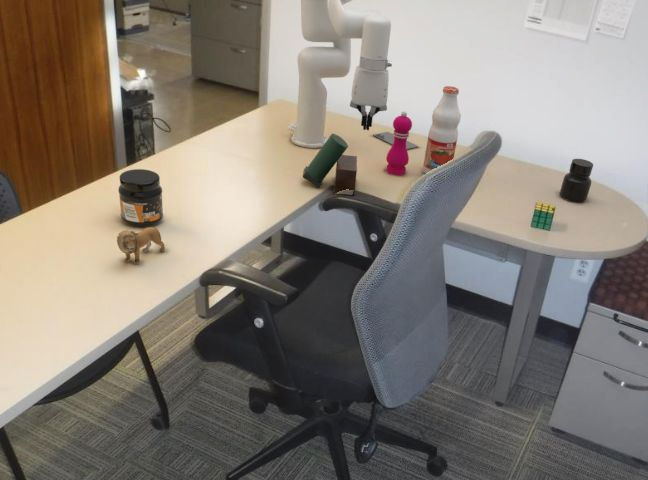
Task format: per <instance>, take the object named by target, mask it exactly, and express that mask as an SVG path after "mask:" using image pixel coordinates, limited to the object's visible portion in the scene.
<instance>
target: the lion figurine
mask: <svg viewBox="0 0 648 480" xmlns="http://www.w3.org/2000/svg"><path fill="white" fill-rule="evenodd" d="M152 242H153V243H154V244H155V245H158V246H160V248H159V252H161V253H164V252H165V250H166V249H165V243H164V241H162V236H161V232H160V230H159V229H158V228H157V227H154V226H150V227H144V228H143V229H142V230H140V231H139V232H135V231H134V230H123V231H121V232H119V233H118V235H117V236H116V244H117V246H118V249H119V250H120V252H122V253H123V254H125V258H124V263H125V262H126V263H128V262H130V261H131V255H132V254H134V262H133V263H134V264H135V265H140V264H141V259H140V250H141V248H143V249H142V252H144V253H146V252H148V251H150V248H151V246H152ZM144 247H145V248H144Z"/></svg>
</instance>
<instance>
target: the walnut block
mask: <svg viewBox="0 0 648 480" xmlns="http://www.w3.org/2000/svg"><path fill="white" fill-rule="evenodd" d="M335 165H336V166H335V174H334V175H335V177H334V187H333V194H334V195H336V194H335V193H337V192H339V191H342V190H346V189H349V190H356V182H357V172H358V156H357V155H348V154H342V155H341V157H340V158H339V159H338V161H337V162H336V163H335Z"/></svg>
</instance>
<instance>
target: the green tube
mask: <svg viewBox="0 0 648 480" xmlns="http://www.w3.org/2000/svg"><path fill="white" fill-rule="evenodd" d="M327 139H328V140H327V141H326V143H325V144H324V145H323V147H320V148H319V151H318V152H317V154H316V155H315V157H313V158H312V160H311V162H310V163H309V164H308V165H306V166H305V167H304V169H303V172H302V178H303V179H304V180H306V181H307V182H308V183H310V184H311V185H313V186H315V187H316V188H318V189H320V188H321V186H322V185H323V181H324V180H325V178H326V177H327V176H328V175H329V173H330V172H331V170H332V169H333V168H334V166H335V165H336V164H337V161H338V159H339V158H340V157H341V155H344V153H345V152H346V150H347V149H348V148H349V144H348V143H347V142H346V141H345V140H344V139H343V138H342V137H341V136H339V135H337V134H335V133H331V134H330V136H329V137H328V138H327Z"/></svg>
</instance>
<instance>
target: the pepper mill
mask: <svg viewBox="0 0 648 480" xmlns="http://www.w3.org/2000/svg"><path fill="white" fill-rule="evenodd" d="M407 115H408V113H407V112H406V110H405V111H404V110H403V111H401V113H400V115H398V116H396V117H395V118H394V119H393V122H392V127H393V128H394V130H393V133H392V134H393V135H394V143H393V145H392V146H391V147H390V149H389V150H388V152H387V154H386V162H387V164H386V168H385V170H386V173H388V174H390V175H393V176H404V175H405V174H406V170H407V167H406V166H407V165H408V164H409V161H410V157H409V152H408V149H406V141H408V138H409V137H410V136H409V135H410V131H411V130H412V127H413V122H412V120H411V118H410V117H408V116H407Z"/></svg>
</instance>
